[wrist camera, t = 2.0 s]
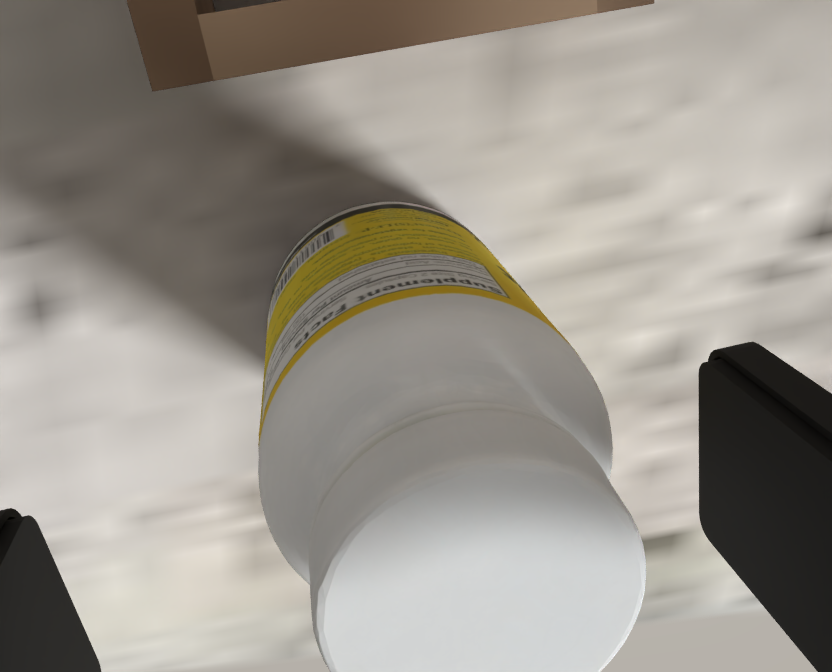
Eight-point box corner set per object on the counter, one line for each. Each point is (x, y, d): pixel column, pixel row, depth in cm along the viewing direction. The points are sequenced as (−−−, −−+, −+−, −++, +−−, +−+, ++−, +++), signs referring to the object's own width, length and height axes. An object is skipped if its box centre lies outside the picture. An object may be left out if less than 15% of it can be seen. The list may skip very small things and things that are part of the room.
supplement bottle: (500, 403, 19) (677, 746, 10) (281, 423, 19) (266, 808, 10) (505, 187, 17) (734, 382, 8) (257, 201, 16) (208, 430, 7)
